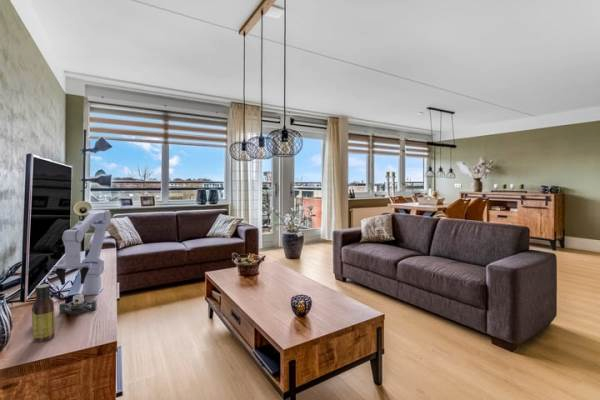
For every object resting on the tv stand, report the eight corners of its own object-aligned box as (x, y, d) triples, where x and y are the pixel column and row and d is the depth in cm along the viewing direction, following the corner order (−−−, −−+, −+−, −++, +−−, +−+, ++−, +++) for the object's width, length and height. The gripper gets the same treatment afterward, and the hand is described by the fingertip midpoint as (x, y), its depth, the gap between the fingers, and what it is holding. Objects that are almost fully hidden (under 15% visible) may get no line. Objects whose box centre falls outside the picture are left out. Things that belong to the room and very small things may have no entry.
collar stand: (63, 309, 137) (63, 299, 137) (98, 306, 141) (98, 297, 141) (56, 316, 130) (56, 306, 130) (93, 312, 134) (93, 303, 134)
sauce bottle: (41, 334, 114) (41, 282, 113) (59, 334, 115) (59, 282, 114) (27, 343, 108) (26, 288, 107) (45, 343, 108) (45, 288, 107)
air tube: (74, 309, 137) (74, 294, 137) (85, 308, 138) (85, 293, 138) (71, 313, 133) (71, 297, 133) (81, 312, 134) (82, 296, 134)
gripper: (50, 257, 135) (50, 287, 136) (88, 256, 140) (88, 285, 141) (57, 254, 142) (57, 283, 143) (93, 253, 147) (93, 280, 147)
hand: (72, 283), depth 142 cm, fingers open, 7 cm apart
